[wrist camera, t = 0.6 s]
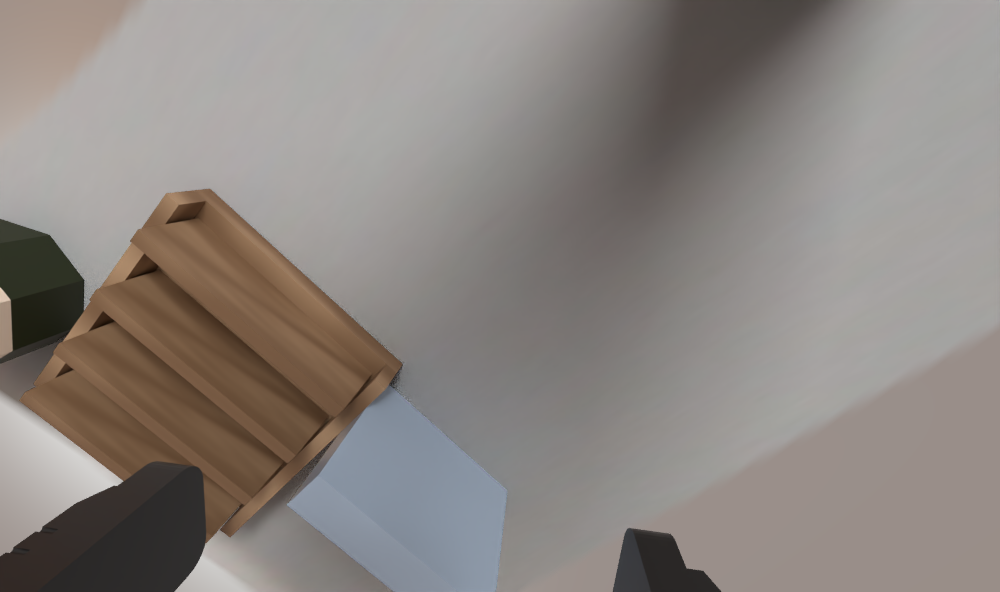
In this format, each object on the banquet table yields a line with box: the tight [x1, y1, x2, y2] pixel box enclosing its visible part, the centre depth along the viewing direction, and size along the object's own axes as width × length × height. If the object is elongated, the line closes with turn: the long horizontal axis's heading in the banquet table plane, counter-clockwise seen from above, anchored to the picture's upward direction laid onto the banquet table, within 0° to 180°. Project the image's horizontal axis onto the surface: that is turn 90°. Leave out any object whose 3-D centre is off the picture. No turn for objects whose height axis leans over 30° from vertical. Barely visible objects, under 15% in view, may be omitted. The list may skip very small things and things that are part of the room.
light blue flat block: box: [287, 385, 507, 592], centre depth 26 cm, size 2×11×9 cm, turn 45°
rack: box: [19, 189, 402, 543], centre depth 27 cm, size 16×15×5 cm
